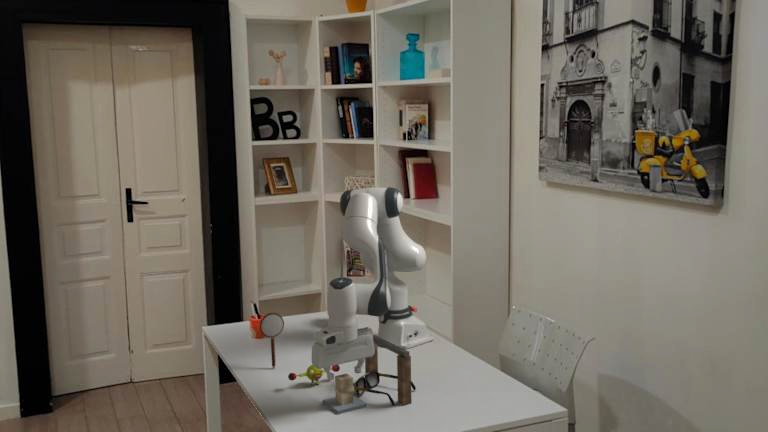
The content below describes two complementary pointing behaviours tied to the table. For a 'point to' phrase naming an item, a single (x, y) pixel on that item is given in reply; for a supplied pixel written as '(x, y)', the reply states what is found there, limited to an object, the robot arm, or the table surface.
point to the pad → (340, 408)
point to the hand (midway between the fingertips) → (344, 375)
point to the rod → (390, 346)
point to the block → (344, 389)
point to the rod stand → (402, 375)
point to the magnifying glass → (272, 329)
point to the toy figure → (313, 373)
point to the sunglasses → (373, 383)
